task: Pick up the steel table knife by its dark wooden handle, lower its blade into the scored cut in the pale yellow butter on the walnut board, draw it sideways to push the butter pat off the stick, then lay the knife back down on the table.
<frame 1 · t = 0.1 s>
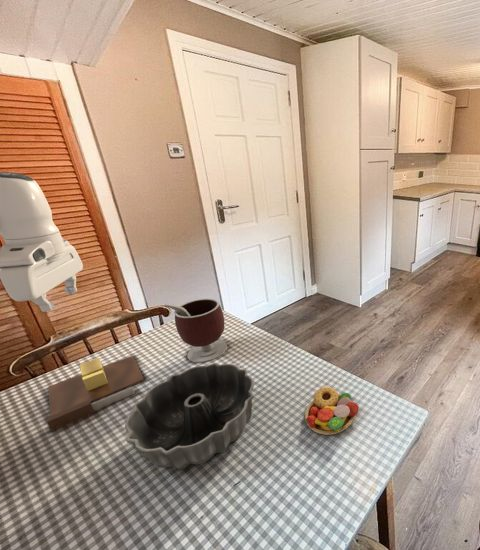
hand: (61, 301, 74), 30 cm above the table, tool pointing down, fingers open, 8 cm apart
toy food set: (331, 416, 78), on the table
butter board: (98, 385, 89), on the table
mate gourd: (205, 352, 103), on the table
bundt pan: (203, 431, 74), on the table
butter pat: (95, 380, 86), point 3 cm above the table, slide at 0.0 cm
knife: (94, 411, 80), on the table
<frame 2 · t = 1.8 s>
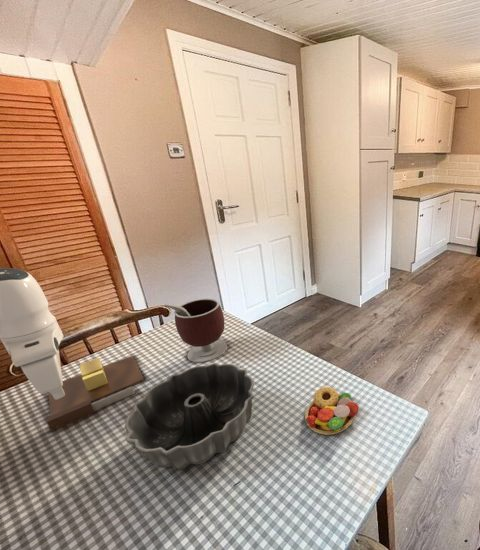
hand: (59, 386, 73), 11 cm above the table, tool pointing down, fingers open, 8 cm apart
nothing on the table moved.
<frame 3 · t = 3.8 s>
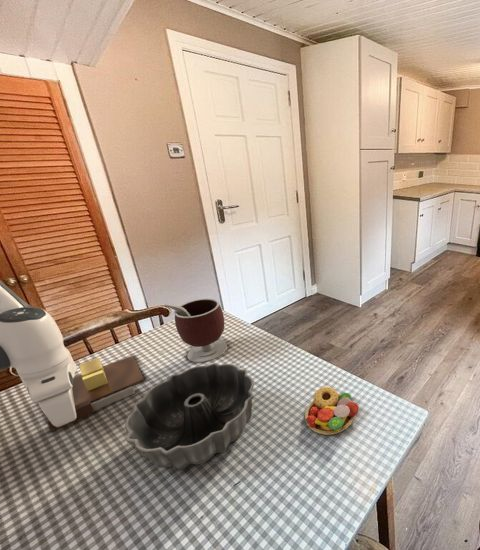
hand: (71, 415, 76), 2 cm above the table, tool pointing down, fingers closed on knife, 2 cm apart
knife: (94, 411, 80), on the table, touching gripper
everything else where it was.
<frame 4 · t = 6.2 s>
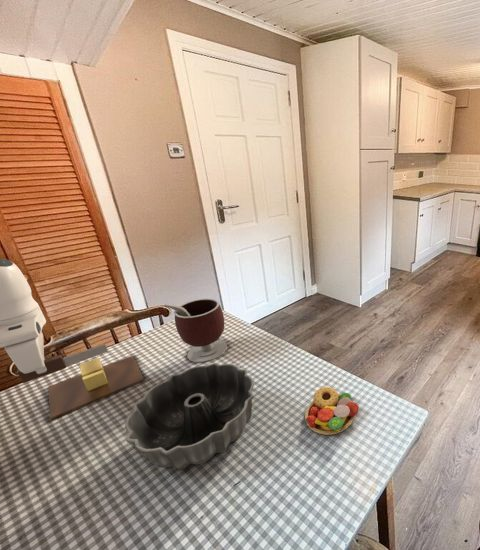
hand: (42, 368, 79), 11 cm above the table, tool pointing down, fingers closed on knife
knife: (66, 366, 82), point 10 cm above the table, touching gripper
everything else where it was.
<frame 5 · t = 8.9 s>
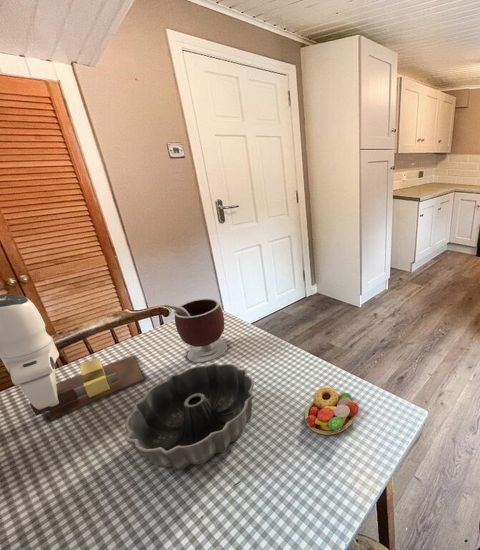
hand: (54, 400, 79), 3 cm above the table, tool pointing down, fingers closed on knife, 2 cm apart
butter pat: (96, 386, 84), point 3 cm above the table, slide at 3.5 cm, touching knife
knife: (77, 397, 82), point 2 cm above the table, touching butter pat, gripper
everything else where it was.
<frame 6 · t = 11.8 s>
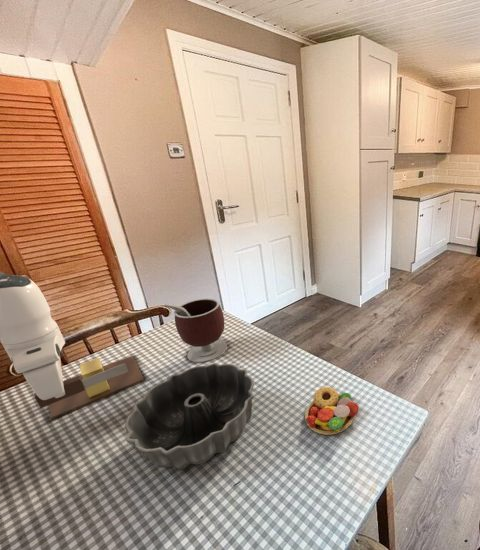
hand: (60, 391, 74), 9 cm above the table, tool pointing down, fingers closed on knife
butter pat: (96, 386, 84), point 3 cm above the table, slide at 3.5 cm
knife: (84, 388, 77), point 8 cm above the table, touching gripper
everything else where it was.
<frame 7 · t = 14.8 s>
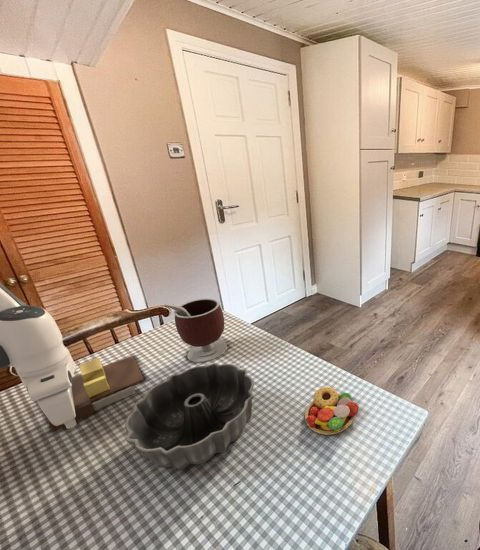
hand: (70, 414, 76), 2 cm above the table, tool pointing down, fingers open, 8 cm apart
knife: (95, 411, 80), on the table
everything else where it was.
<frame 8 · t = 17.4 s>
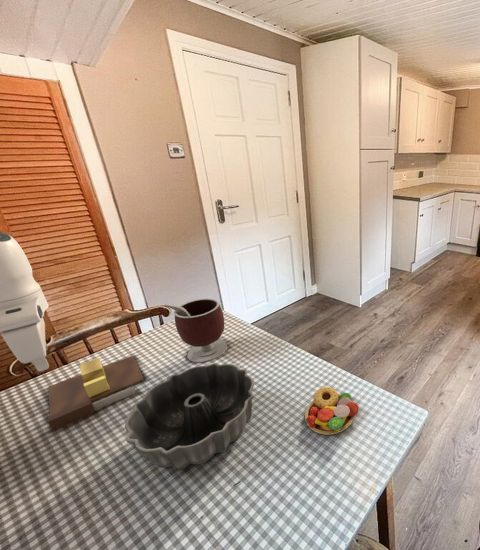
hand: (43, 359, 70), 19 cm above the table, tool pointing down, fingers open, 8 cm apart
nothing on the table moved.
at the end: butter pat slide at 3.5 cm; knife inside the target area (0.2 cm from its centre), on the table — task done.
